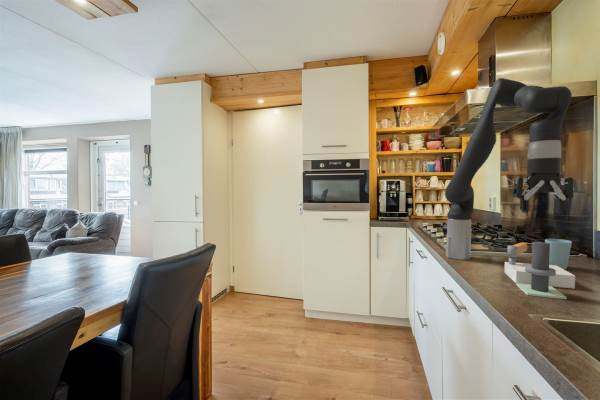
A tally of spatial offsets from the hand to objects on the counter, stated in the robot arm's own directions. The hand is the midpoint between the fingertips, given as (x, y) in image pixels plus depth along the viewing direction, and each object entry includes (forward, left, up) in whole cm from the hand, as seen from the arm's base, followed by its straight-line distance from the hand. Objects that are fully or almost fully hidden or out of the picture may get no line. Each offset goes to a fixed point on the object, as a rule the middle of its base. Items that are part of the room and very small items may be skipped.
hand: (541, 212), depth 85 cm
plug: (0, 0, -23) cm, 23 cm away
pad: (0, 0, -24) cm, 24 cm away
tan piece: (+1, +21, -17) cm, 27 cm away
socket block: (+4, +13, -24) cm, 27 cm away
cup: (+17, +33, -24) cm, 44 cm away
